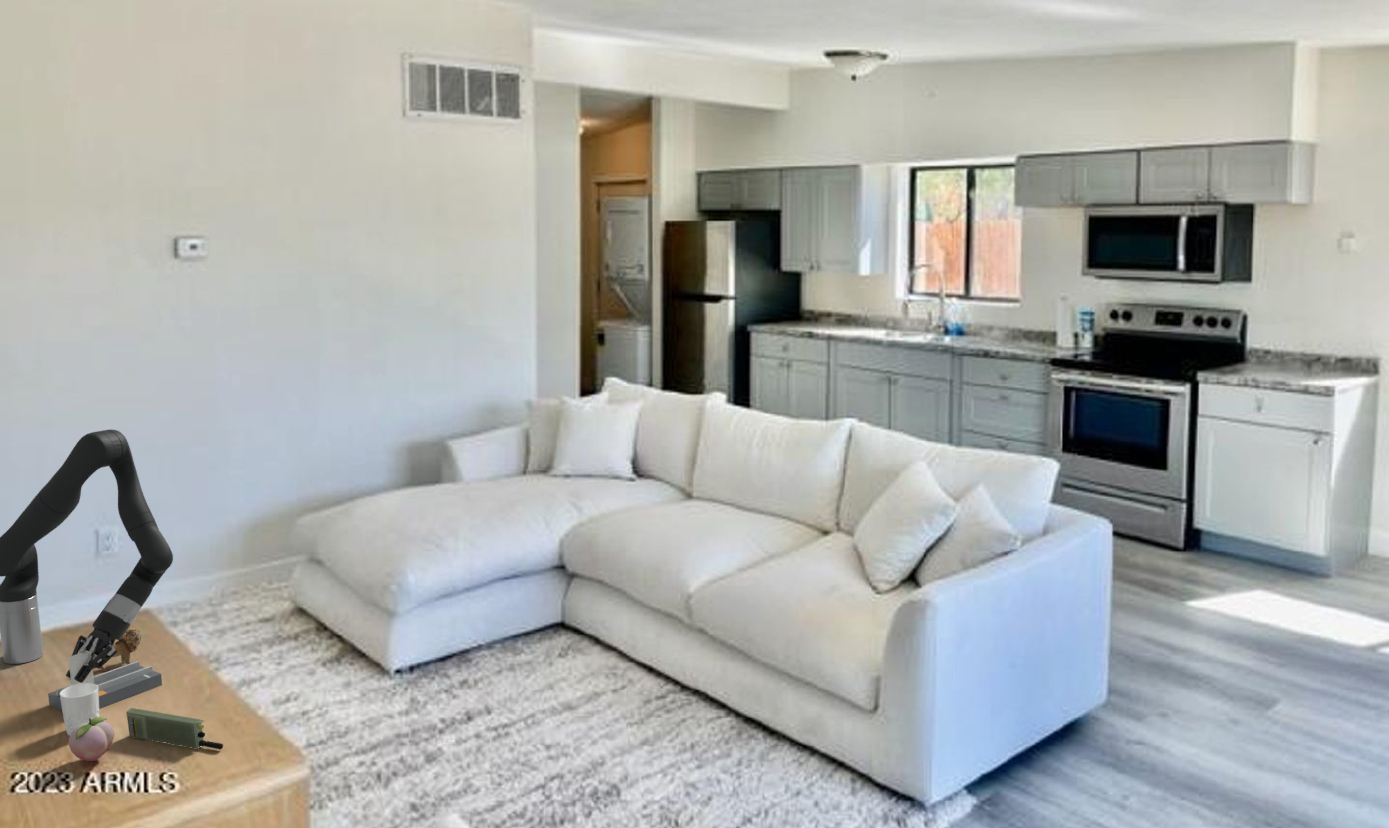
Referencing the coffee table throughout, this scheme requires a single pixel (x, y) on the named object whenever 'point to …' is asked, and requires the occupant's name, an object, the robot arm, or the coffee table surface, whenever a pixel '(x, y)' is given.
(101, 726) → the decorative fruit
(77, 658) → the fader knob
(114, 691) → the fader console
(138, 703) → the coffee table surface
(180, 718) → the handheld radio
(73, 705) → the white cup
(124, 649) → the lion figurine
